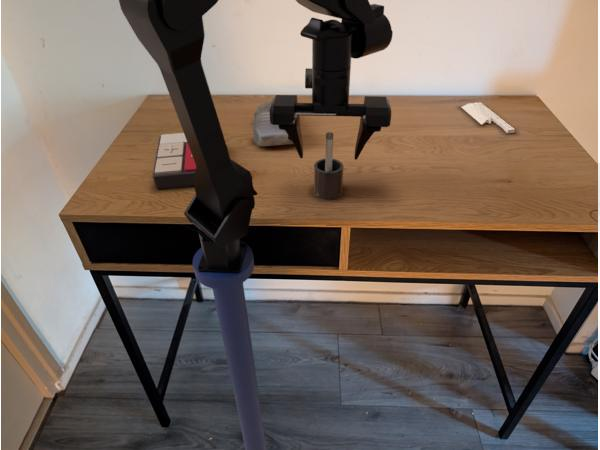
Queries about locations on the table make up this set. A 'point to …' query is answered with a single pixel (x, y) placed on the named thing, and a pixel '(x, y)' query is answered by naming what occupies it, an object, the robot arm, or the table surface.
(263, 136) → the handheld device
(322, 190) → the pen cup
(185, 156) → the calculator
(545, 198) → the table surface
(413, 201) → the table surface
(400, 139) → the table surface
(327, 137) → the stylus
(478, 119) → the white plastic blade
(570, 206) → the table surface
